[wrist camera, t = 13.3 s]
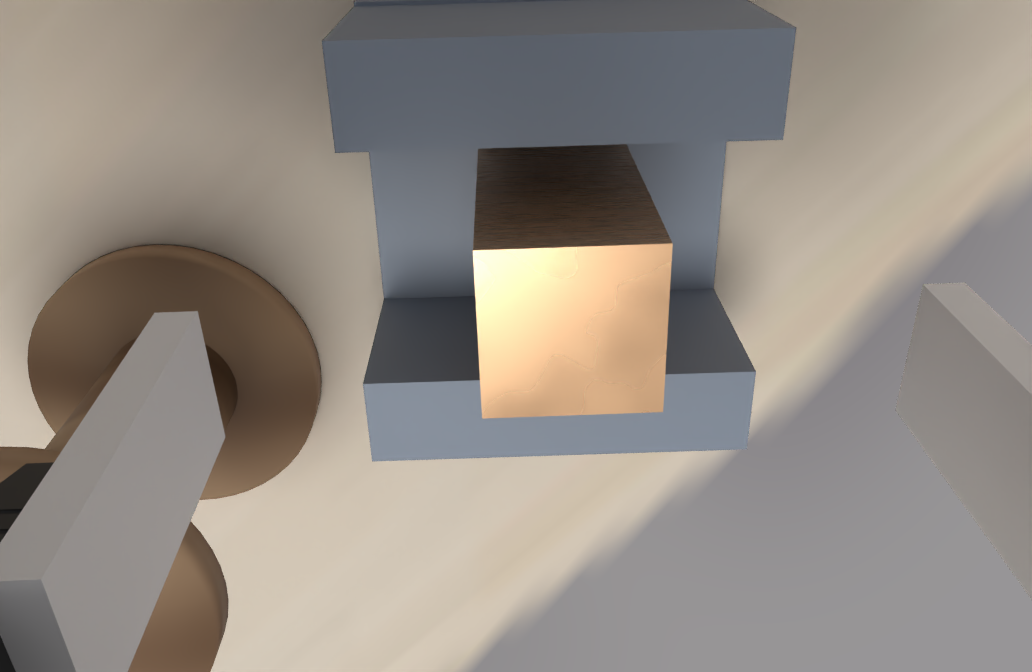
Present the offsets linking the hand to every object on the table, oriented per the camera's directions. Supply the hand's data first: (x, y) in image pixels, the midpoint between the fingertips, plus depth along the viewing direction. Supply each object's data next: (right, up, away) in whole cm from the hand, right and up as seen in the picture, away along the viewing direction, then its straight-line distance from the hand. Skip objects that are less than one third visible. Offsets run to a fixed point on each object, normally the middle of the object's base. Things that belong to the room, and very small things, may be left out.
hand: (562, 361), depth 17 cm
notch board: (0, +5, +10) cm, 11 cm away
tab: (0, +4, +9) cm, 10 cm away
